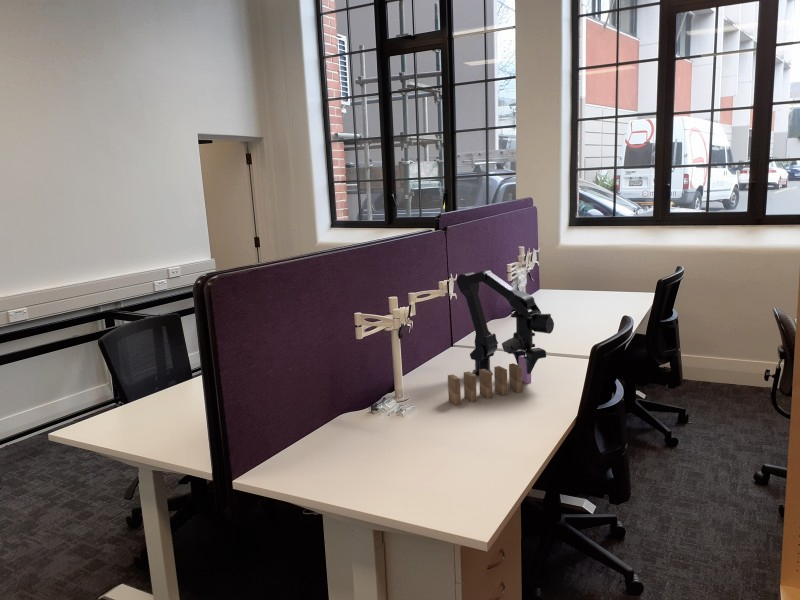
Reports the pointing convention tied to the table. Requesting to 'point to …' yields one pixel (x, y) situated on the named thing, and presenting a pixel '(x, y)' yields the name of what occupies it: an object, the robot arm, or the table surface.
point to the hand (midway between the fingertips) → (524, 371)
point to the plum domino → (524, 370)
